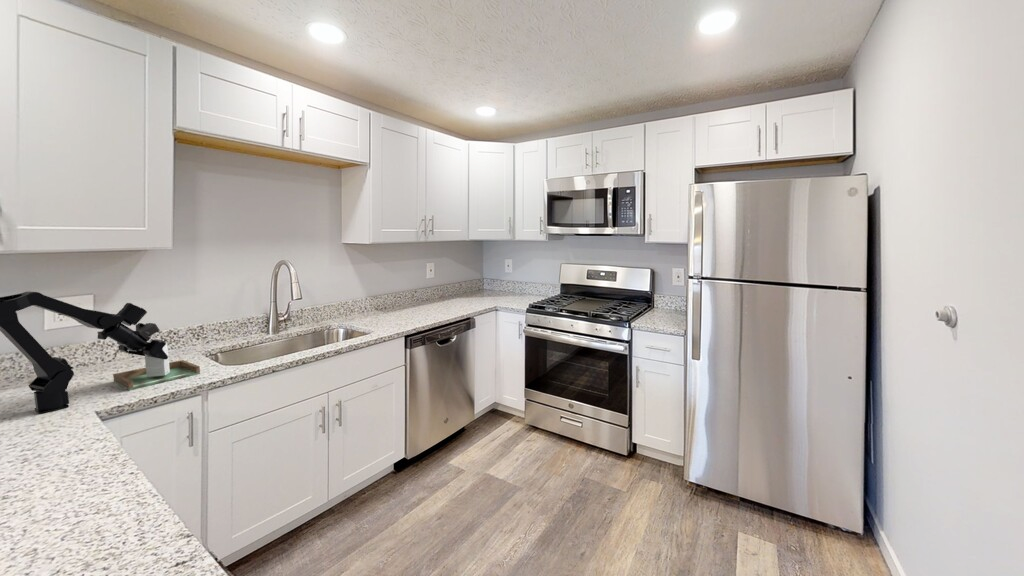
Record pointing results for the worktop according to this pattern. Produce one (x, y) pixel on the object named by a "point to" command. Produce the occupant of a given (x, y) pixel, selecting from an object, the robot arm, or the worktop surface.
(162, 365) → the skincare box
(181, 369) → the box
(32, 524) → the worktop surface
